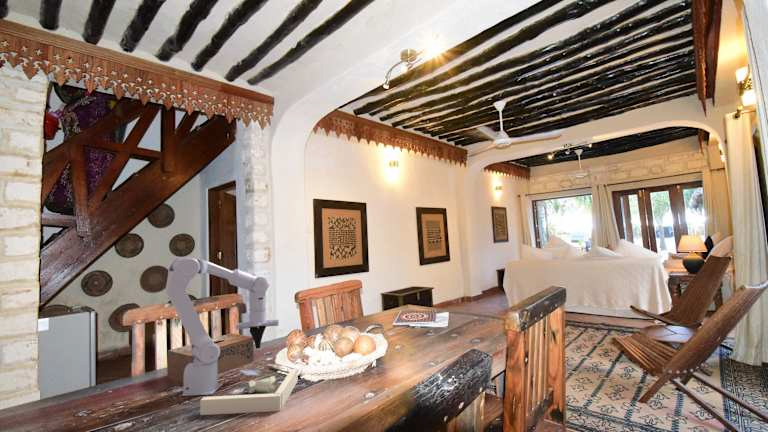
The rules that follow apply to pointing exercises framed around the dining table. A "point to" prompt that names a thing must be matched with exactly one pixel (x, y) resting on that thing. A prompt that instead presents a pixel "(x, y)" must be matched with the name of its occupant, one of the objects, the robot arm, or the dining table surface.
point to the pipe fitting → (262, 385)
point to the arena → (250, 400)
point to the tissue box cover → (232, 355)
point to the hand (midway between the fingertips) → (258, 347)
